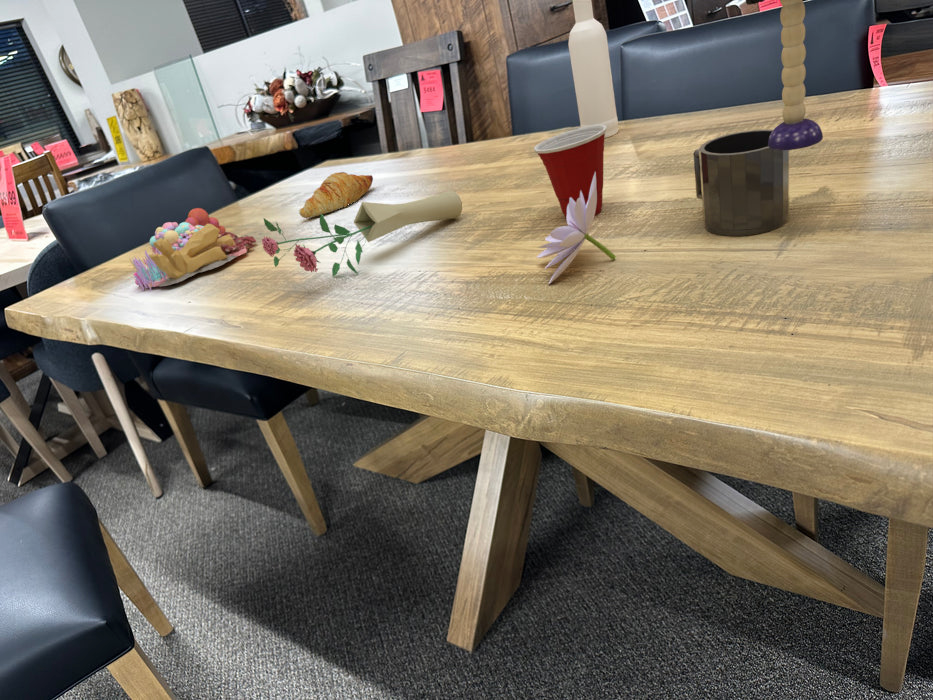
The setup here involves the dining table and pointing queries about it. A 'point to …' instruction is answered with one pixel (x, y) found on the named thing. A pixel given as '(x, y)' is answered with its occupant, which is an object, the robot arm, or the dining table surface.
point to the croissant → (336, 193)
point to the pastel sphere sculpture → (188, 250)
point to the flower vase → (372, 226)
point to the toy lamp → (794, 84)
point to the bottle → (592, 70)
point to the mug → (742, 183)
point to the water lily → (573, 232)
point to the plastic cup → (574, 163)
